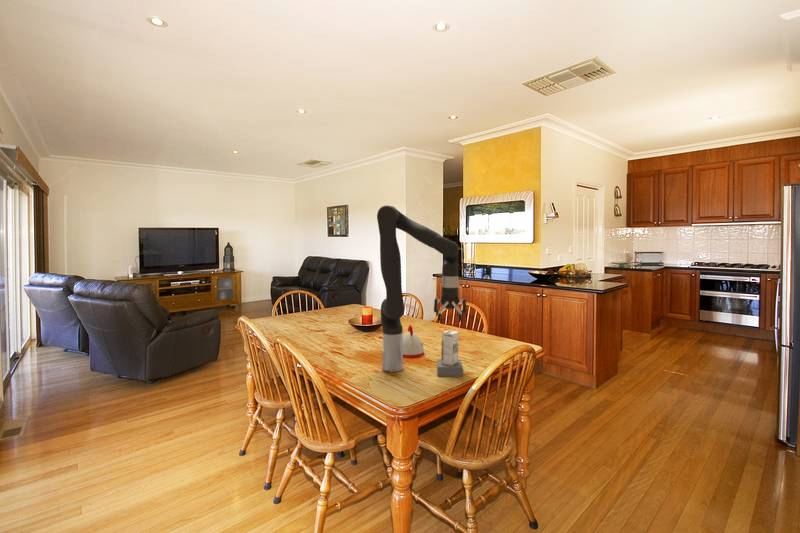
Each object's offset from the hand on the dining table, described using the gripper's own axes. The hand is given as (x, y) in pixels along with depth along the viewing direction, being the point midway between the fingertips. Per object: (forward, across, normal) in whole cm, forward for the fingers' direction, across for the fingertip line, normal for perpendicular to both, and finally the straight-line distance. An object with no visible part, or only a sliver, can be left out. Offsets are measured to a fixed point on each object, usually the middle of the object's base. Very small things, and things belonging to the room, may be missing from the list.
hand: (449, 321), depth 175 cm
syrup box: (+19, 0, 0) cm, 19 cm away
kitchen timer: (+24, -19, +26) cm, 40 cm away
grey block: (+23, 0, 0) cm, 23 cm away
